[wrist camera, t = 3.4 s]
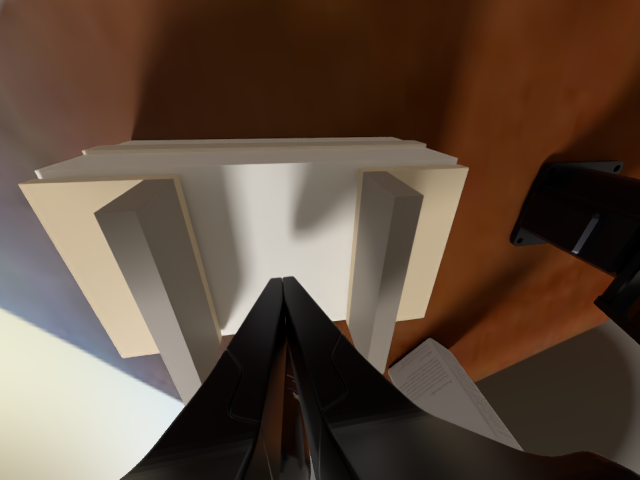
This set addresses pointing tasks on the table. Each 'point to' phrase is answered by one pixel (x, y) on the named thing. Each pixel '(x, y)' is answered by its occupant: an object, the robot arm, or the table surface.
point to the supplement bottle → (293, 431)
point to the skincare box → (447, 391)
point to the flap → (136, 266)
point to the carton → (262, 206)
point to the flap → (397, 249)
